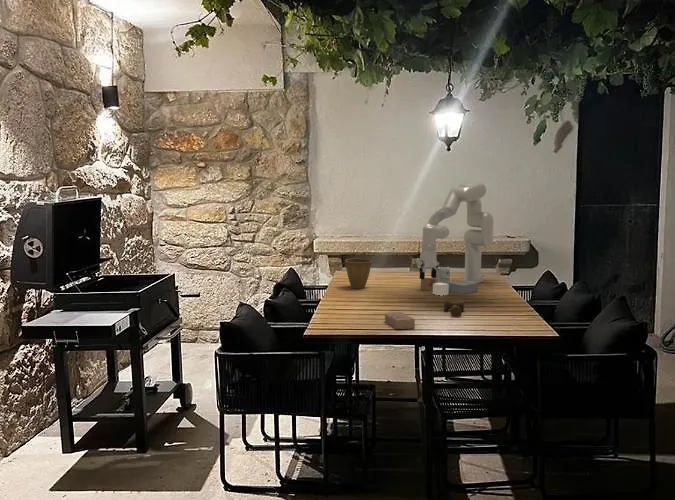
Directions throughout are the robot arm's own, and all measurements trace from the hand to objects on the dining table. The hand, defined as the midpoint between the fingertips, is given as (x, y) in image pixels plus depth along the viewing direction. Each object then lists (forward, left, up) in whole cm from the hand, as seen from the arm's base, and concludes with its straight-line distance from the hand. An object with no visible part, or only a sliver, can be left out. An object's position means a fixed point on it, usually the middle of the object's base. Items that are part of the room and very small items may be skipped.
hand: (427, 278), depth 362 cm
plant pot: (+26, -29, -7) cm, 40 cm away
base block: (-12, +15, -7) cm, 20 cm away
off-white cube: (+5, +14, -7) cm, 16 cm away
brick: (+72, +47, -7) cm, 86 cm away
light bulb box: (-16, -4, -7) cm, 18 cm away
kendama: (+34, +47, -7) cm, 58 cm away
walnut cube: (-1, 0, -7) cm, 7 cm away
